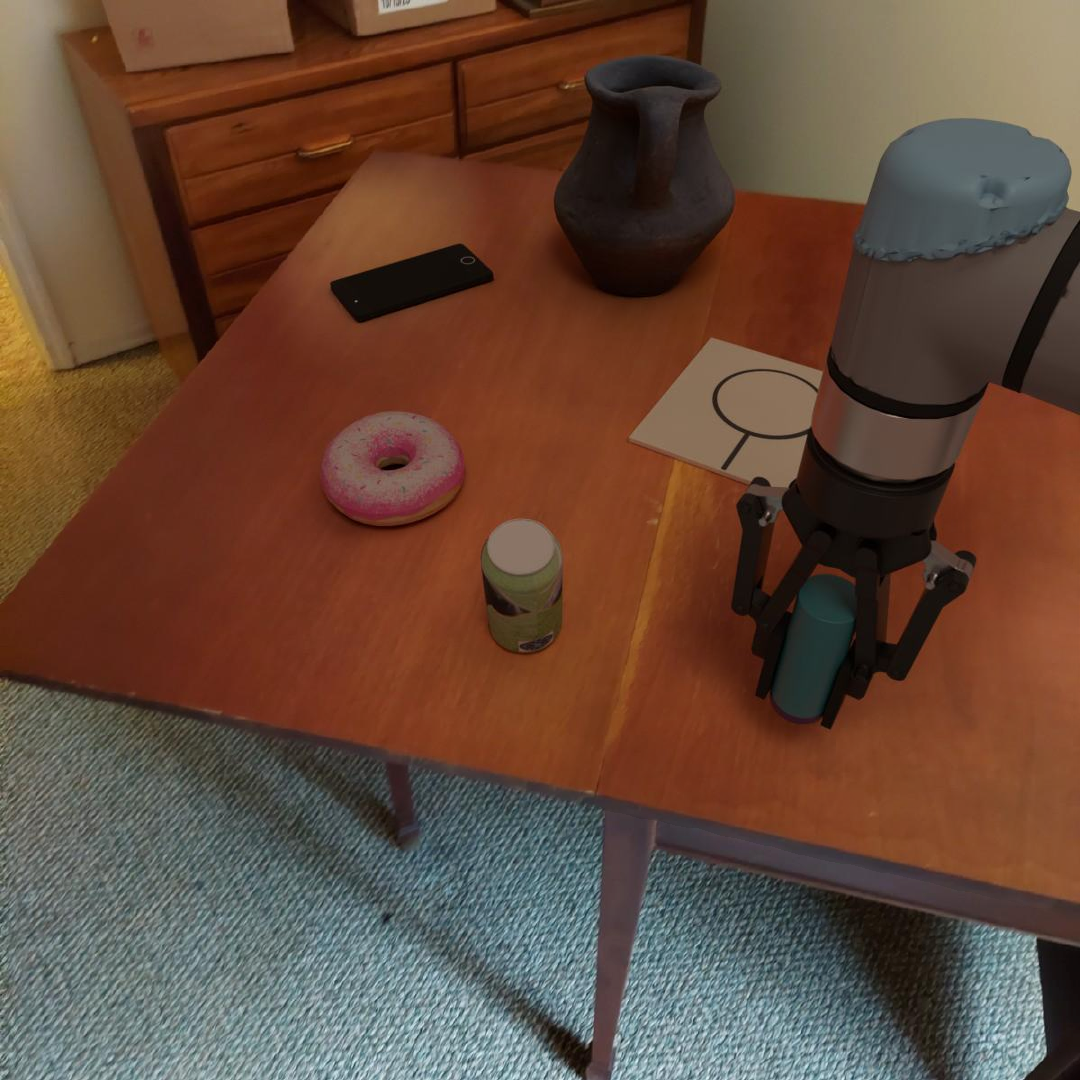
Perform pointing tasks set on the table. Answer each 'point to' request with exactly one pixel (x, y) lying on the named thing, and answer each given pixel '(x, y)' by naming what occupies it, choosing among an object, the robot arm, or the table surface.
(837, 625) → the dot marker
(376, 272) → the cell phone
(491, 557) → the beverage can
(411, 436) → the donut
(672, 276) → the pitcher
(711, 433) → the drawing sheet
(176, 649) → the table surface
